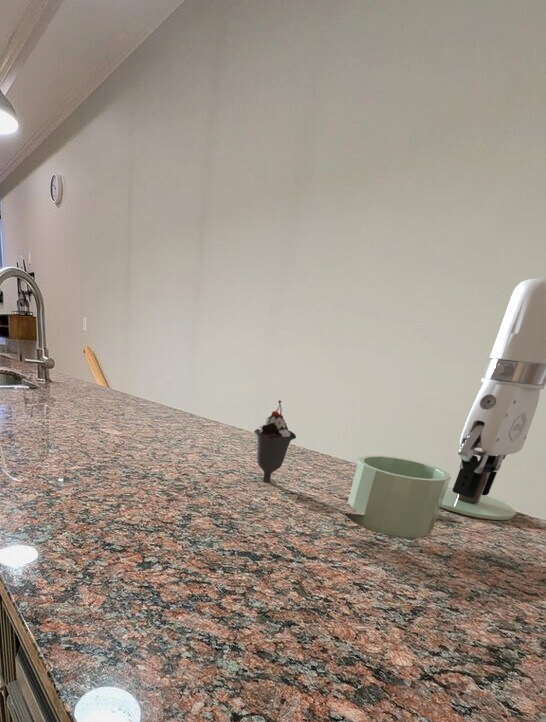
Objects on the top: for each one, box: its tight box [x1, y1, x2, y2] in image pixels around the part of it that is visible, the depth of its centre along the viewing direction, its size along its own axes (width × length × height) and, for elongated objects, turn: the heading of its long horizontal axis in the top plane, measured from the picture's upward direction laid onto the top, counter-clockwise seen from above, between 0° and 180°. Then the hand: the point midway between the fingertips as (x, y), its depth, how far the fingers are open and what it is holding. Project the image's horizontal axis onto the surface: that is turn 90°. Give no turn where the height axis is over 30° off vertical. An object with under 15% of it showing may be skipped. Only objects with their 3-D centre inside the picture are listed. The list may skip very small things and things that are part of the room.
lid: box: [440, 469, 517, 521], centre depth 71 cm, size 13×13×6 cm
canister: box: [345, 455, 452, 539], centre depth 66 cm, size 12×12×8 cm
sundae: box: [253, 399, 297, 483], centre depth 73 cm, size 7×7×15 cm
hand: (470, 492), depth 71 cm, fingers closed on lid, 3 cm apart
